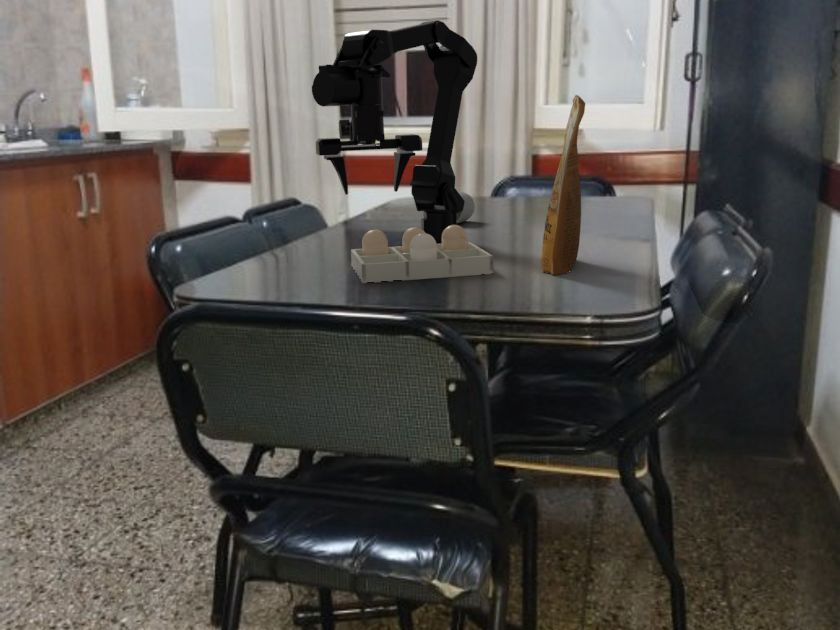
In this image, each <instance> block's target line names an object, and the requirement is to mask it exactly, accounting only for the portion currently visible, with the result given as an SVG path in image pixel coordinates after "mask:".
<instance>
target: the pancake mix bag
mask: <svg viewBox="0 0 840 630" xmlns="http://www.w3.org/2000/svg"><path fill="white" fill-rule="evenodd" d="M585 109H586V102H585V101H584V100H583V98H581V97H580V96H579V95H577V94H576V95H574V97H573V99H572V105H571V108H570V113H569V116H568V119H567V123H566V128H565V135H564V138H563V139H564V140H563V147H562V153H561V156H560V161H559V165H558V168H557V172H556V174H555V175H556V176H555V179H554V183H553V186H552V191H551V194H550V200H549V204H548V207H547V213H546V216H545V217H546V218H545V222H544V230H543V237H542V246H541V247H542V249H541V250H542V252H541V267H542V272H543V273H544V272H545V274H551V275H554V276H555V275H557V274H559V275H563V274H562V273H566V274H568V273H567V272H569V271H571V272H572V270H573V268H574V266H575V263H576V262H577V258H578V253H579V247H580V241H581V240H580V239H581V228H582V227H581V224H582V190H581V179H580V167H579V166H580V163H579V161H580V160H579V152H578V151H579V150H578V134H579V130H580V129H579V128H580V125H581V121H582V119H583V117H584V115H585ZM569 273H570V272H569Z"/></svg>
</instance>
